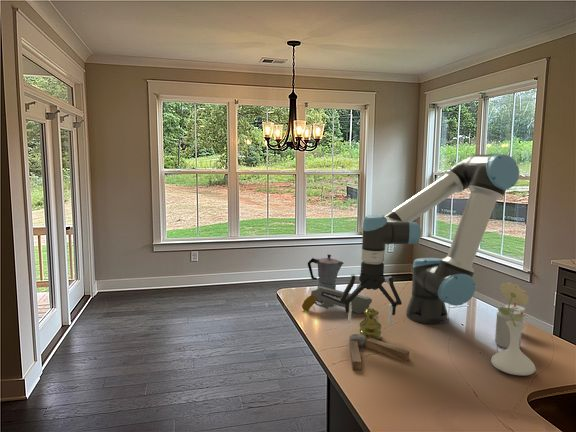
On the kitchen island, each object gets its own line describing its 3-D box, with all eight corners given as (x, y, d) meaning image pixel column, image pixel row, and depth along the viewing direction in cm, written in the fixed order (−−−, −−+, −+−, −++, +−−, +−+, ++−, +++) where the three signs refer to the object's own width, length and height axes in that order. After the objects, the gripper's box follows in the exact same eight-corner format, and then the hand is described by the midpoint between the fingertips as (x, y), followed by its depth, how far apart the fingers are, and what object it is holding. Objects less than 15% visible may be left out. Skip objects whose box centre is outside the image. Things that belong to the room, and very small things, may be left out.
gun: (357, 333, 167) (373, 300, 165) (300, 310, 167) (315, 276, 165) (356, 330, 170) (371, 297, 168) (300, 307, 170) (315, 274, 168)
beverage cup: (525, 335, 145) (528, 296, 143) (506, 334, 146) (509, 295, 144) (519, 329, 151) (522, 291, 149) (501, 327, 152) (503, 290, 150)
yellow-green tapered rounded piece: (367, 330, 148) (368, 303, 147) (385, 336, 143) (386, 308, 142) (354, 336, 143) (355, 308, 142) (373, 343, 138) (374, 313, 137)
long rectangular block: (369, 344, 137) (370, 337, 136) (409, 359, 127) (409, 351, 127) (365, 347, 135) (365, 339, 135) (405, 361, 125) (405, 353, 125)
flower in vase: (545, 378, 116) (552, 290, 113) (507, 381, 114) (514, 292, 111) (512, 356, 129) (518, 277, 126) (478, 359, 127) (484, 279, 124)
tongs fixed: (364, 341, 139) (364, 334, 139) (371, 370, 120) (372, 362, 119) (348, 341, 139) (348, 333, 139) (352, 369, 120) (352, 361, 120)
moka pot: (344, 303, 177) (345, 257, 175) (307, 303, 177) (308, 256, 175) (341, 296, 187) (342, 252, 184) (306, 295, 187) (307, 251, 184)
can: (518, 342, 139) (520, 307, 138) (522, 352, 132) (525, 315, 131) (493, 339, 142) (495, 305, 140) (496, 348, 135) (498, 312, 133)
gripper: (335, 262, 137) (333, 325, 140) (413, 266, 135) (409, 329, 138) (334, 257, 145) (332, 317, 147) (408, 260, 143) (404, 320, 145)
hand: (369, 323), depth 142 cm, fingers open, 13 cm apart
